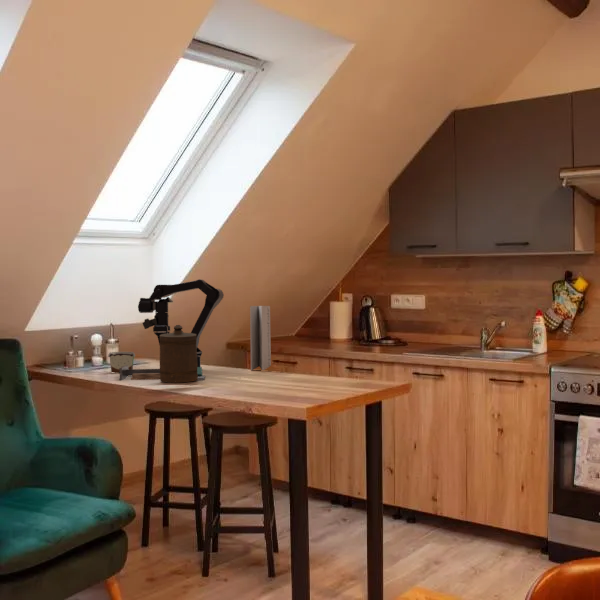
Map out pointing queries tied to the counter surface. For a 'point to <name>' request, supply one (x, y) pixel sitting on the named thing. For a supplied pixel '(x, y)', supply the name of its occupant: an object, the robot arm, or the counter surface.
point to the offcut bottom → (144, 378)
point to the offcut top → (146, 375)
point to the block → (199, 371)
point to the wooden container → (178, 356)
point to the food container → (121, 360)
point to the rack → (134, 371)
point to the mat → (201, 377)
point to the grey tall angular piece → (260, 337)
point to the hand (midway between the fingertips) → (162, 347)
